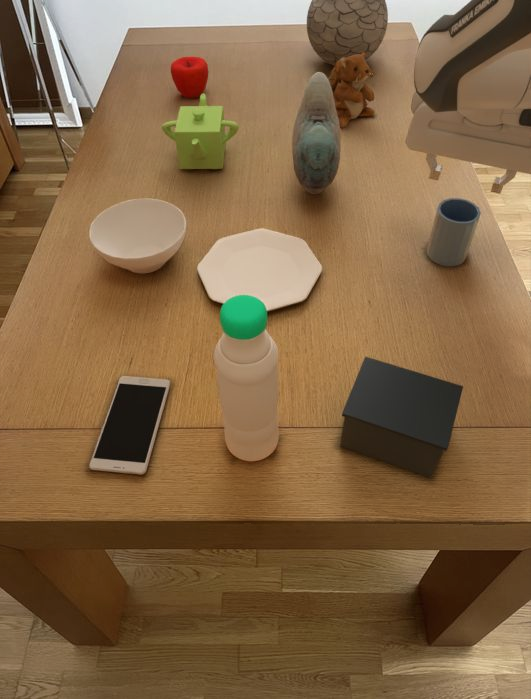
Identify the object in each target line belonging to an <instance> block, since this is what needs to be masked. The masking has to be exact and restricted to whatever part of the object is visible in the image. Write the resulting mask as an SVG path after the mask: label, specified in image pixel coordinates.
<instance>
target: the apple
mask: <svg viewBox="0 0 531 699" xmlns="http://www.w3.org/2000/svg"><path fill="white" fill-rule="evenodd" d="M170 75H171V78H172V81H173V83H174V86H175V88H176V90H177V92H179V94H180V95H181V96H182V97H183V98H187V99H195V98H200V96H201V94H203V93H204V92H205V90H206V89H207V84H208V79H209V65H208V62H207V61H206V60H205V58H202V57H200V56H182V57H180V58H177V59H176V60H174V61H172V62H171V65H170Z"/></svg>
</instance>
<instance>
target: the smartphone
mask: <svg viewBox="0 0 531 699" xmlns="http://www.w3.org/2000/svg"><path fill="white" fill-rule="evenodd" d="M115 387H116V388H115V390H114V393H113V396H112V399H111V402H110V406H109V407H108V410H107V412H106V416H105V419H104V421H103V425H102V427H101V429H100V433H99V435H98V438H97V441H96V444H95V446H94V450H93V453H92V455H91V459H90V462H89V464H88V468H89V469H90V471H91V470H92V471H101V472H110V473H120V474H131V475H139V476H140V475H145V474H146V473H147V469H148V466H149V463H150V459H151V455H152V452H153V449H154V444H155V442H156V439H157V438H156V437H157V434H158V430H159V426H160V423H161V419H162V416H163V412H164V409H165V406H166V402H167V398H168V396H169V395H168V394H169V391H170V387H171V380H170V379H167V378H156V377H155V378H154V377H143V376H133V375H132V376H131V375H122V376H119V379H118V381H117V385H116V386H115Z"/></svg>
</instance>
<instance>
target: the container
mask: <svg viewBox="0 0 531 699" xmlns="http://www.w3.org/2000/svg"><path fill="white" fill-rule="evenodd" d="M463 389H464V386H463V385H461V384H457V383H455V382H450V381H447V380H444V379H441V378H438V377H434V376H431V375H428V374H424V373H421V372H418V371H415V370H411V369H409V368H405V367H401V366H399V365H395V364H391V363H388V362H386V361H381V360H378V359H375V358H372V357H369V356H365V357H364V358H363V360H362V363H361V365H360V368H359V371H358V373H357V376H356V378H355V381H354V383H353V386H352V388H351V390H350V392H349V395H348V398H347V400H346V403H345V406H344V408H343V410H342V413H341V417H344V420H343V425H342V431H341V436H340V444H339V446H340V447H341V448H344V449H347V450H350V451H353V452H355V453H358V454H360V455H364V456H367V457H369V458H371V459H375V460H378V461H380V462H384V463H387V464H389V465H392V466H395V467H398V468H401V469H403V470H406V471H409V472H412V473H415V474H417V475H421V476H424V477H426V478H429V479H432V477H433V475H434V473H435V470H436V468H437V466H438V464H439V461H440V459H441V458H442V454H443V452H447V451H448V449H449V445H450V441H451V437H452V434H453V428H454V425H455V421H456V417H457V414H458V409H459V407H460V406H459V405H460V401H461V398H462V393H463Z"/></svg>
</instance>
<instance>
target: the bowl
mask: <svg viewBox="0 0 531 699" xmlns="http://www.w3.org/2000/svg"><path fill="white" fill-rule="evenodd" d="M186 232H187V220H186V217H185V214H184V213H183V211H182V210H181V209H180V208H179V207H178V206H176V205H175V204H173V203H171V202H168V201H165V200H162V199H159V198H134V199H128V200H124V201H121V202H118V203H115V204H113V205H111V206H109V207H107V208H105V209H104V210H102V211H101V212H100V213H99V214H98V215H97V216H96V217H95V218H94V220H93V221H92V222H91V224H90V227H89V231H88V235H89V242H90V243H91V246H92V247H93V249H94V250H95V252H96V253H97V254H98V255H99V256H100V257H101V258H103V259H104V260H105V261H107V262H108V263H110V264H111V265H113V266H117V267H118V268H121V269H124V270H128V271H129V272H131V273H135V274H149V273H153V272H155V271H158V270H159V269H161V268H162V267H163V266H164V265H165V264H166V263H167V262H168V261H169V260H170V259H171V258H172V257H173V256H174V255H175V254H176V253H177V252H178V251H179V249H180V248H181V246H182V244H183V243H184V241H185V237H186Z"/></svg>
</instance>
